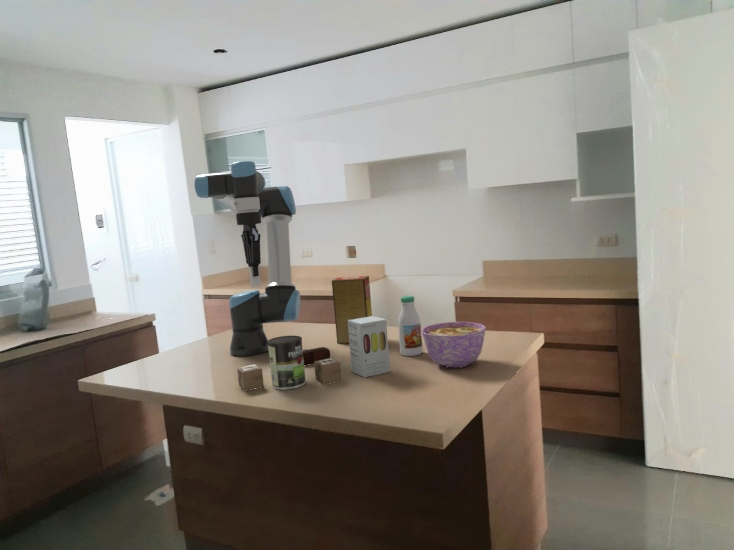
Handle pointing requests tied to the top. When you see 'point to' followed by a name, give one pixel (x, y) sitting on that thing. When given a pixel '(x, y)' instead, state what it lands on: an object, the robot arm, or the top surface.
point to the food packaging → (350, 303)
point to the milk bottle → (409, 328)
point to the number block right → (328, 371)
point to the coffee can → (286, 362)
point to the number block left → (250, 377)
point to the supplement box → (368, 346)
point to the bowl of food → (454, 342)
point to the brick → (315, 355)
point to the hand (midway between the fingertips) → (255, 286)
